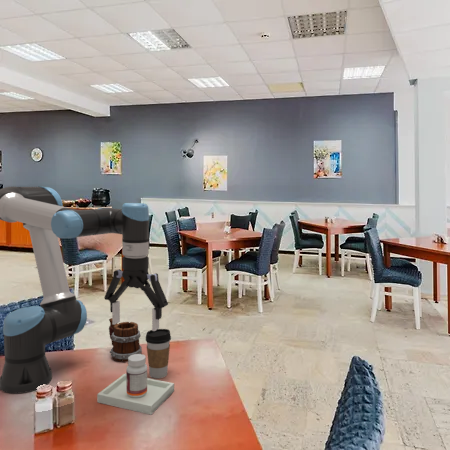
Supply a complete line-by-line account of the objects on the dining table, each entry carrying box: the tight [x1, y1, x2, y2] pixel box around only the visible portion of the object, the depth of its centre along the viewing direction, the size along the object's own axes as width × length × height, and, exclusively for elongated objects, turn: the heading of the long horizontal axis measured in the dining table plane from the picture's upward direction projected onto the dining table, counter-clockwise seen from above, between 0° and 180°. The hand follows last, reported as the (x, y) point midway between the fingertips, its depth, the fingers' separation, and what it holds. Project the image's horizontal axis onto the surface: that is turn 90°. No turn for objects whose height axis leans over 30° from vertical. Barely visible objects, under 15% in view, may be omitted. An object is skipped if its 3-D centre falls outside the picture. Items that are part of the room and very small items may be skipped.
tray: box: [96, 373, 175, 415], centre depth 121 cm, size 18×14×2 cm
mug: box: [108, 317, 143, 363], centre depth 150 cm, size 12×14×15 cm
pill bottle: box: [125, 353, 148, 398], centre depth 121 cm, size 6×6×11 cm
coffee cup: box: [145, 328, 172, 379], centre depth 135 cm, size 8×8×15 cm
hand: (135, 326), depth 119 cm, fingers open, 13 cm apart
